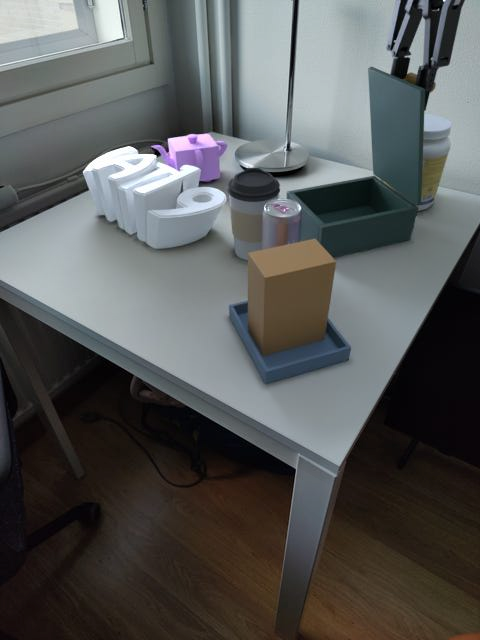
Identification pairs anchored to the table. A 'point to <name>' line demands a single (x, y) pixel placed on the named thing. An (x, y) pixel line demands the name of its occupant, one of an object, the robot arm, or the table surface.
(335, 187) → the box
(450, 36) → the robot arm
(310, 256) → the packet
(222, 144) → the teapot
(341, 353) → the tray
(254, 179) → the coffee cup
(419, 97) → the lid
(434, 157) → the supplement tub
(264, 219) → the beverage can
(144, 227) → the white letter sculpture
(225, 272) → the table surface
